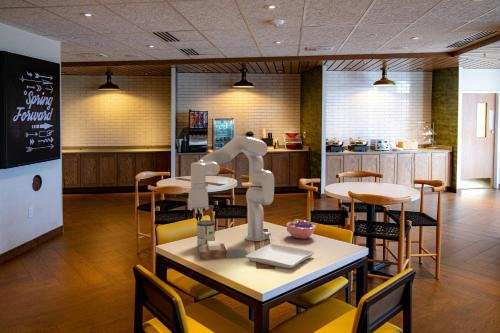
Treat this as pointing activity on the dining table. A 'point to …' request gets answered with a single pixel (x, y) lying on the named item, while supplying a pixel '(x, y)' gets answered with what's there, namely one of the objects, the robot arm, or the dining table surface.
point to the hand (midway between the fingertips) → (198, 220)
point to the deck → (211, 252)
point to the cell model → (300, 229)
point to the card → (214, 245)
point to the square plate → (280, 255)
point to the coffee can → (205, 232)
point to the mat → (237, 253)
